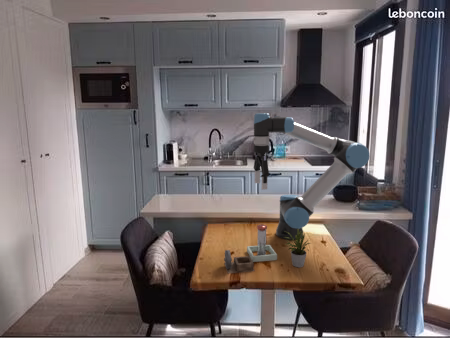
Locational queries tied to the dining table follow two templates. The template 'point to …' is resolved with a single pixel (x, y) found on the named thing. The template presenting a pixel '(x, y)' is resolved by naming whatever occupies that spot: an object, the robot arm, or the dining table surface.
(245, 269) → the block
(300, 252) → the house plant
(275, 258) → the tray
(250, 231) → the dining table surface
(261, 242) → the pin
